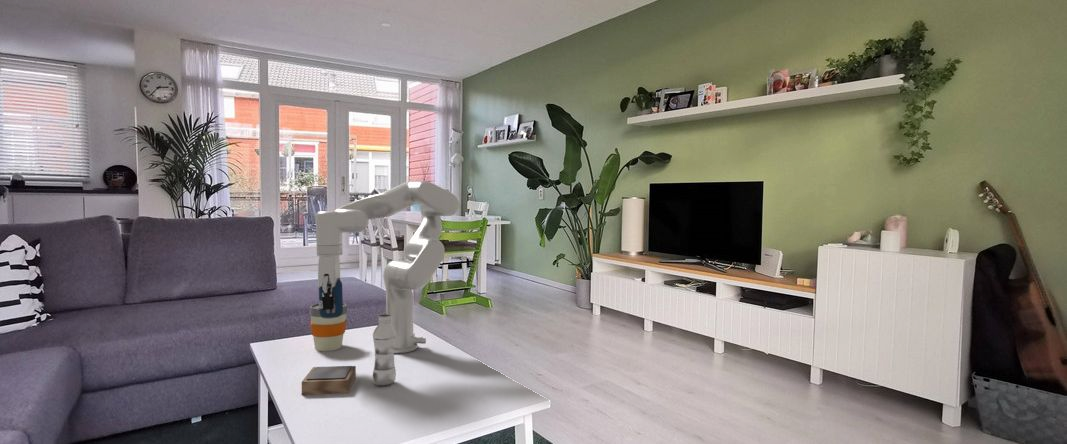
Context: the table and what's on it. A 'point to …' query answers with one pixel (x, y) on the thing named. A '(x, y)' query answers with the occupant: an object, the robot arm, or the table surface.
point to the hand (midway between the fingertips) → (331, 305)
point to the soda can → (337, 302)
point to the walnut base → (329, 380)
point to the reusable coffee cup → (327, 329)
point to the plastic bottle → (384, 351)
